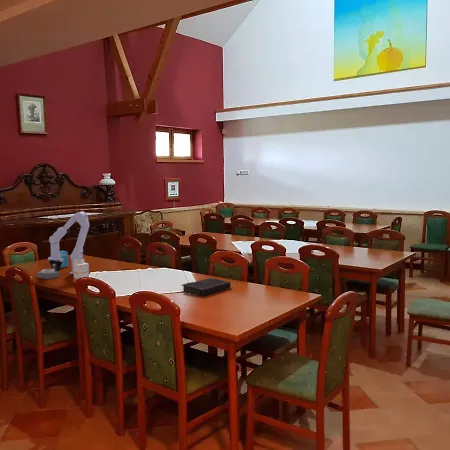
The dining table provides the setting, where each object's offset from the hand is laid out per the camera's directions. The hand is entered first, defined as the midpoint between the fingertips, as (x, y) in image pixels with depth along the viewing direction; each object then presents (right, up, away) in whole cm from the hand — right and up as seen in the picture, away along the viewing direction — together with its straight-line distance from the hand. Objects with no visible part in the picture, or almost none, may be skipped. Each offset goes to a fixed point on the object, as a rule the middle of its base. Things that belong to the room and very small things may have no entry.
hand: (56, 270), depth 336 cm
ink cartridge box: (+26, -5, -27) cm, 38 cm away
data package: (-5, 0, +23) cm, 23 cm away
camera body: (-1, -3, -12) cm, 13 cm away
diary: (+109, -7, -55) cm, 123 cm away
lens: (0, -2, 0) cm, 2 cm away
